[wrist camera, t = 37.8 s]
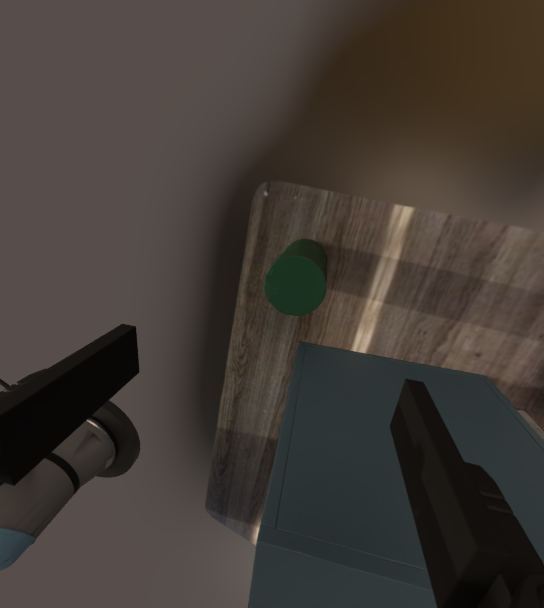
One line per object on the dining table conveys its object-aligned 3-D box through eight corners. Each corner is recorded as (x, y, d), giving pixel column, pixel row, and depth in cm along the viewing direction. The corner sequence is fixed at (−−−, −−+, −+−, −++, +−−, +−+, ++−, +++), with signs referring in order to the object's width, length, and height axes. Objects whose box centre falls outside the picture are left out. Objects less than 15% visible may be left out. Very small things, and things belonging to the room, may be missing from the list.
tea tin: (280, 279, 40) (261, 310, 29) (285, 236, 38) (267, 251, 27) (323, 286, 39) (320, 320, 28) (331, 242, 37) (331, 260, 26)
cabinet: (444, 469, 46) (581, 794, 21) (284, 432, 49) (238, 672, 24) (486, 375, 39) (763, 686, 14) (299, 341, 43) (256, 540, 18)
